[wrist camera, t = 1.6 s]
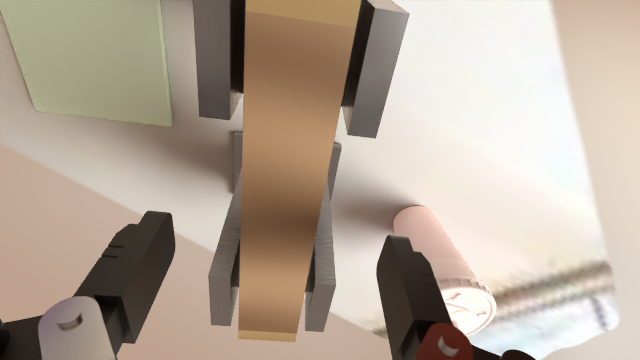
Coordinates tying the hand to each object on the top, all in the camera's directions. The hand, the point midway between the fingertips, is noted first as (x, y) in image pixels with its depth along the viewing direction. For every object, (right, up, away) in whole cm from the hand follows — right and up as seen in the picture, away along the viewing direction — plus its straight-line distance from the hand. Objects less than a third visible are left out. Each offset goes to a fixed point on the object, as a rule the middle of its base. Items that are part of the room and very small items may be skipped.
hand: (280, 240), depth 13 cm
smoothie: (+10, -1, +18) cm, 21 cm away
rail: (0, +2, +3) cm, 4 cm away
